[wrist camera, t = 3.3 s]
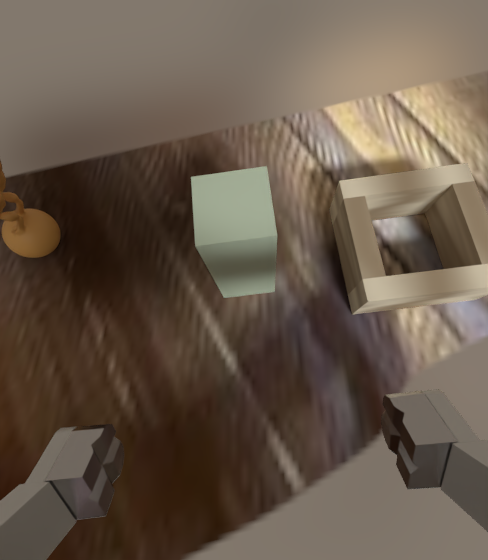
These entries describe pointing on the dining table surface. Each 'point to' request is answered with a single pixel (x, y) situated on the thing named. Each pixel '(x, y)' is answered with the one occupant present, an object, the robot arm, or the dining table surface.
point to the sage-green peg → (236, 230)
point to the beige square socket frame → (444, 227)
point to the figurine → (27, 227)
